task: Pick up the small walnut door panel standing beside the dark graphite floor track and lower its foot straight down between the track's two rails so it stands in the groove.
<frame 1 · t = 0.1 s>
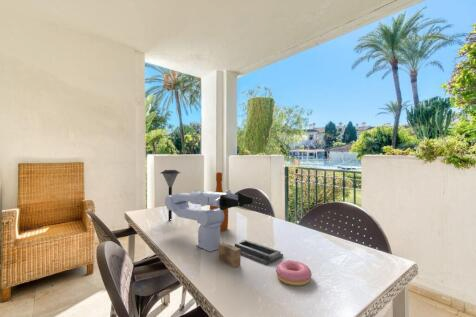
hand: (245, 201, 85), 22 cm above the table, tool horizontal, fingers open, 7 cm apart
floor track: (256, 253, 91), on the table
wine bottle: (218, 229, 122), on the table
door panel: (229, 262, 83), on the table
doughnut: (293, 279, 73), on the table
solar garden light: (170, 220, 139), on the table
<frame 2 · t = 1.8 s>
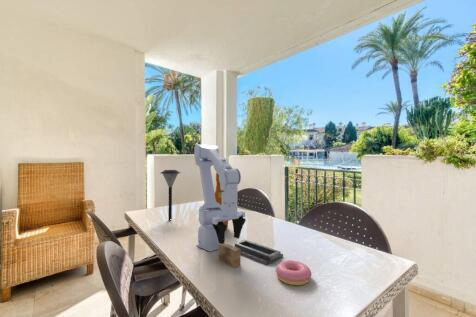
hand: (229, 240, 83), 8 cm above the table, tool pointing down, fingers open, 7 cm apart
nothing on the table moved.
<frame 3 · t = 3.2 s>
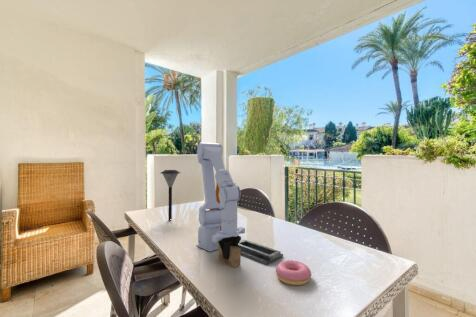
hand: (229, 257, 83), 2 cm above the table, tool pointing down, fingers closed on door panel, 2 cm apart
door panel: (229, 262, 83), on the table, touching gripper
everything else where it was.
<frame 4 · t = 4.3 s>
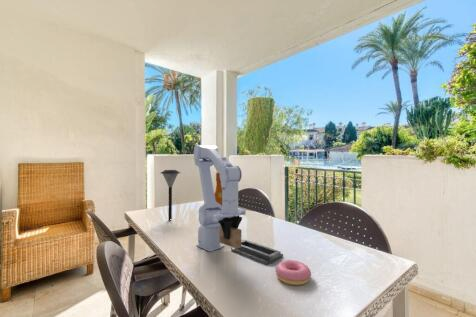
hand: (229, 237, 84), 9 cm above the table, tool pointing down, fingers closed on door panel, 2 cm apart
door panel: (230, 244, 84), point 6 cm above the table, touching gripper
everything else where it was.
when the fingers open (4 cm above the table, at t = 6.1 s): door panel stays where it is, resting on floor track.
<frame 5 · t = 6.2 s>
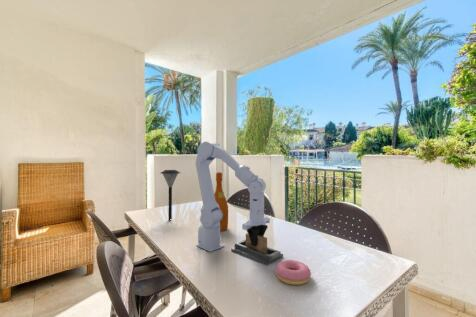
hand: (256, 244, 91), 4 cm above the table, tool pointing down, fingers open, 3 cm apart
door panel: (256, 251, 91), point 1 cm above the table, touching floor track
everything else where it was.
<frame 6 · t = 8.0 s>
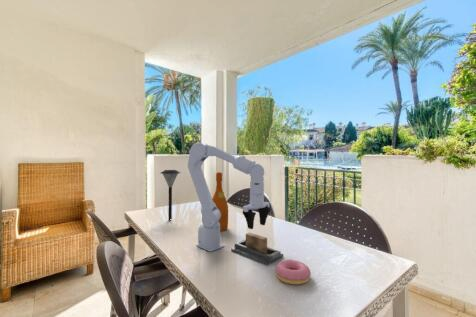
hand: (256, 226, 96), 9 cm above the table, tool pointing down, fingers open, 7 cm apart
nothing on the table moved.
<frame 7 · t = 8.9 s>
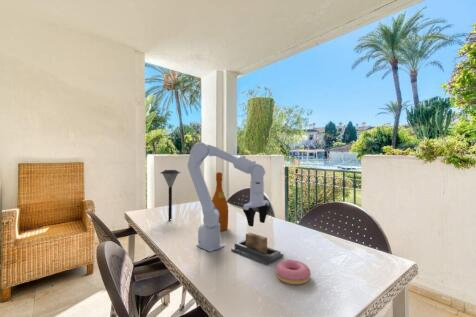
hand: (256, 224, 99), 9 cm above the table, tool pointing down, fingers open, 7 cm apart
nothing on the table moved.
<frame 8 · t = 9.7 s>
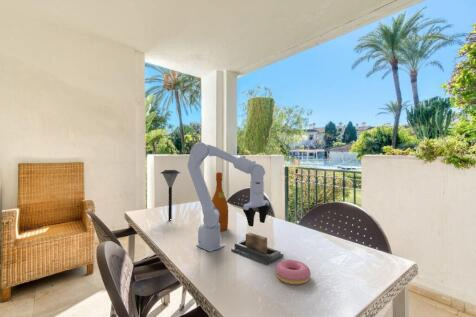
hand: (256, 224, 99), 9 cm above the table, tool pointing down, fingers open, 7 cm apart
nothing on the table moved.
at the end: door panel inside the target area on the floor track (0.3 cm from its centre), point 1.0 cm above the floor track's base; door panel tilted 0°; the gripper is holding nothing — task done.
